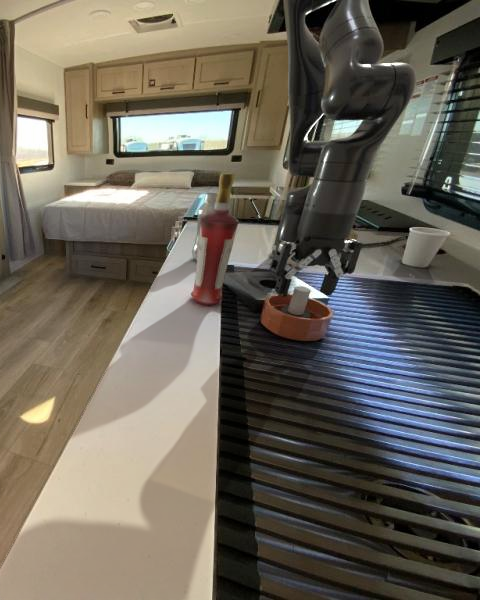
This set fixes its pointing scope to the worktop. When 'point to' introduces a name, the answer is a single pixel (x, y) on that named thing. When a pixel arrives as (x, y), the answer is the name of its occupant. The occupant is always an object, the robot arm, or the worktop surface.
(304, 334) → the bowl
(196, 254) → the plastic bottle
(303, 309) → the plug
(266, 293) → the sink plate
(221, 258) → the liquor
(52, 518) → the worktop surface
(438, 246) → the dixie cup
